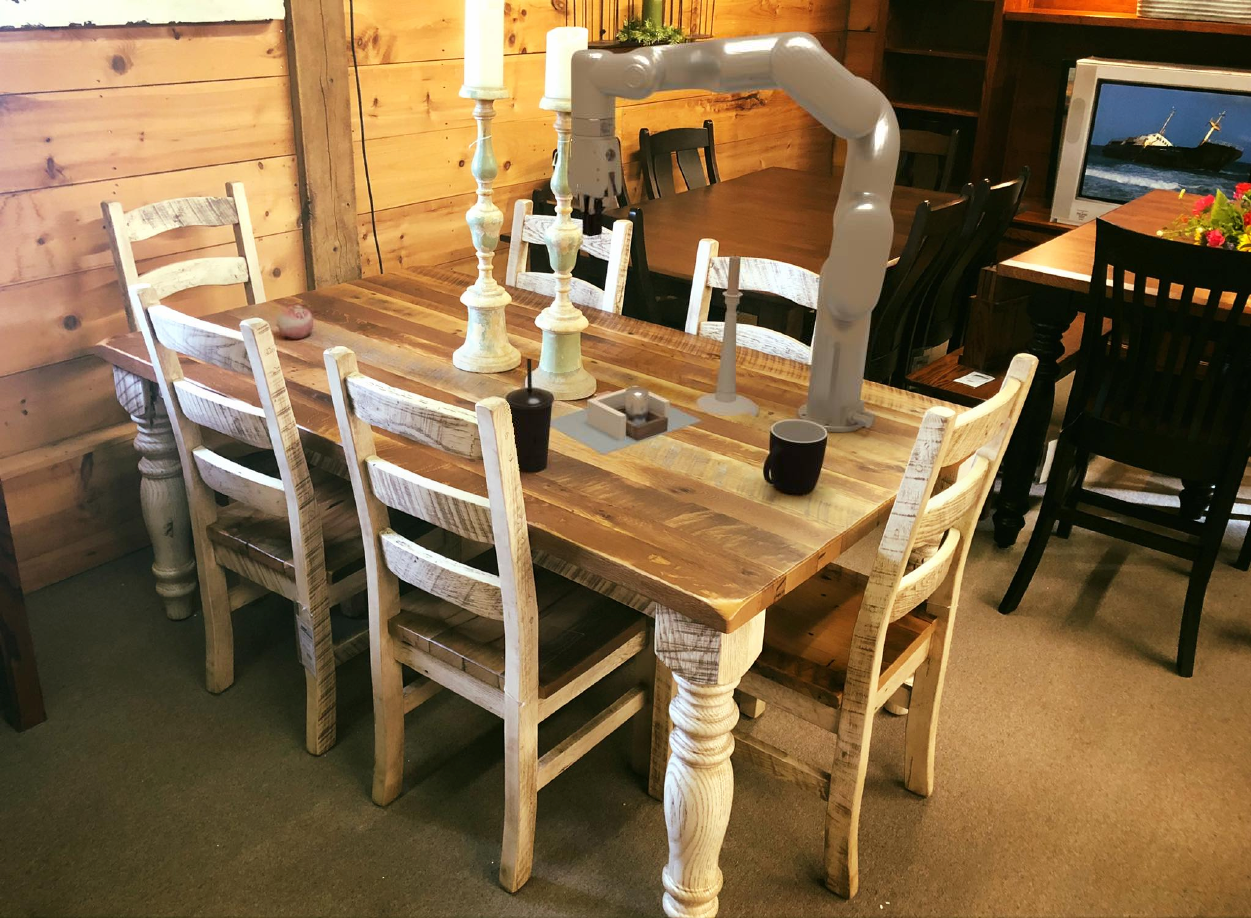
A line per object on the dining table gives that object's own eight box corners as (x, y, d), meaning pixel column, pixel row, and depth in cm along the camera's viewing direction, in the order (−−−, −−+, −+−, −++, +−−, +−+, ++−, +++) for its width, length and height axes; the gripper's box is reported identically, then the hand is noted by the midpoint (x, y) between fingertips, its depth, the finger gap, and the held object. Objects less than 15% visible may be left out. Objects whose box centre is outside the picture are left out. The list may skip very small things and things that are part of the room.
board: (701, 428, 191) (701, 420, 191) (603, 462, 178) (603, 454, 177) (639, 399, 203) (639, 392, 202) (543, 429, 189) (543, 421, 188)
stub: (651, 428, 187) (653, 391, 184) (635, 434, 185) (636, 397, 181) (636, 421, 190) (637, 384, 187) (620, 426, 187) (621, 390, 184)
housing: (668, 424, 189) (669, 400, 187) (620, 440, 182) (620, 416, 180) (624, 403, 197) (625, 380, 195) (576, 418, 190) (576, 395, 188)
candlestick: (739, 394, 206) (751, 243, 193) (770, 419, 195) (785, 261, 182) (679, 402, 202) (687, 248, 189) (708, 428, 191) (718, 266, 178)
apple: (310, 345, 228) (299, 318, 224) (277, 346, 230) (265, 319, 225) (322, 323, 234) (311, 296, 229) (289, 324, 235) (278, 297, 231)
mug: (790, 470, 177) (795, 414, 172) (832, 489, 171) (839, 432, 166) (741, 491, 169) (745, 433, 165) (783, 511, 163) (789, 452, 159)
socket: (667, 430, 186) (667, 417, 185) (637, 441, 182) (637, 427, 181) (634, 414, 192) (634, 402, 191) (604, 424, 188) (604, 411, 187)
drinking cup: (498, 473, 173) (494, 358, 164) (534, 459, 178) (532, 347, 169) (528, 489, 168) (525, 372, 160) (564, 474, 173) (563, 360, 164)
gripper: (638, 131, 177) (635, 240, 185) (583, 120, 187) (582, 223, 195) (603, 135, 172) (602, 246, 180) (549, 123, 182) (550, 229, 190)
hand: (592, 234), depth 187 cm, fingers closed
